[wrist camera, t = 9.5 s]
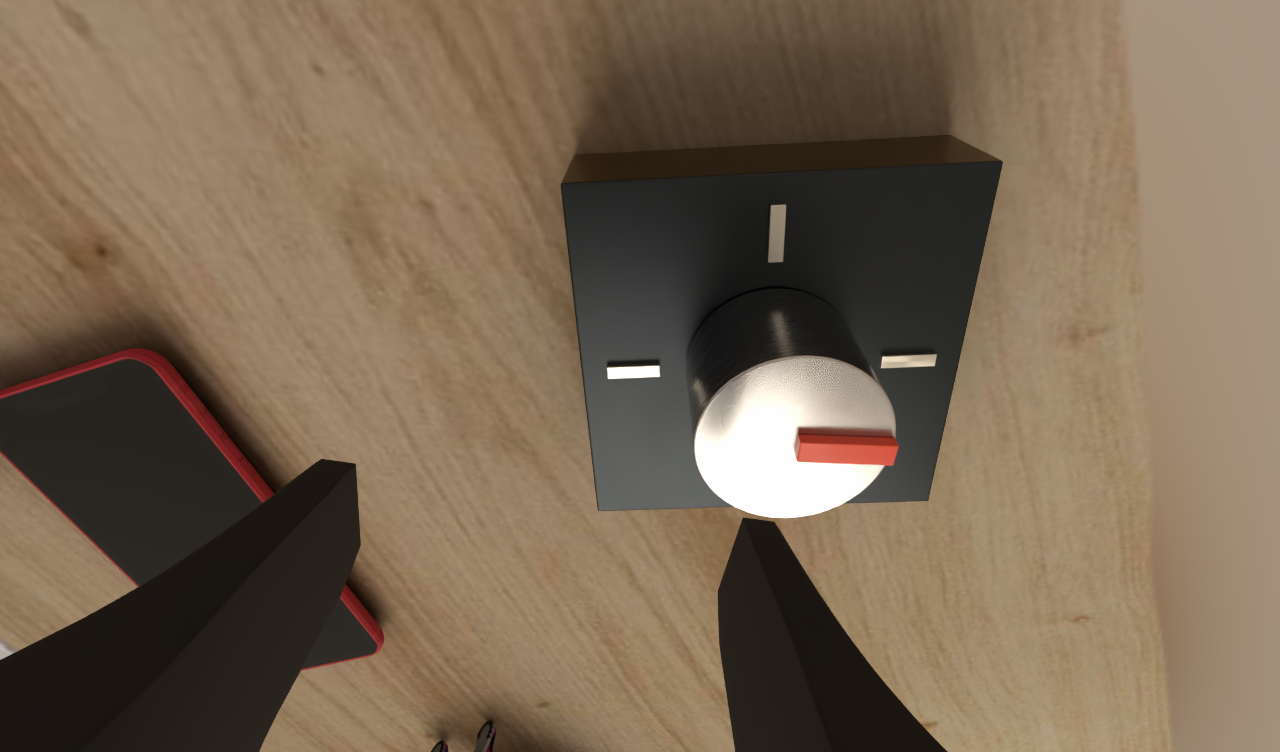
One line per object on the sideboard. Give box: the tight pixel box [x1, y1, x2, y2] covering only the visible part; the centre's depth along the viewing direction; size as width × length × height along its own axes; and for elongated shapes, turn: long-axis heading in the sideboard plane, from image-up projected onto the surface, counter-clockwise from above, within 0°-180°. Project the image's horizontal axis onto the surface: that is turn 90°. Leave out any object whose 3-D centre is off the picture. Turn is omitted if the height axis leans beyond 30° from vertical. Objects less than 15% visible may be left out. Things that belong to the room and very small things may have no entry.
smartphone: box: [0, 348, 384, 671], centre depth 24 cm, size 7×1×15 cm
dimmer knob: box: [686, 289, 899, 518], centre depth 16 cm, size 4×4×4 cm
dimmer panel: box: [561, 135, 1003, 511], centre depth 19 cm, size 10×10×3 cm
